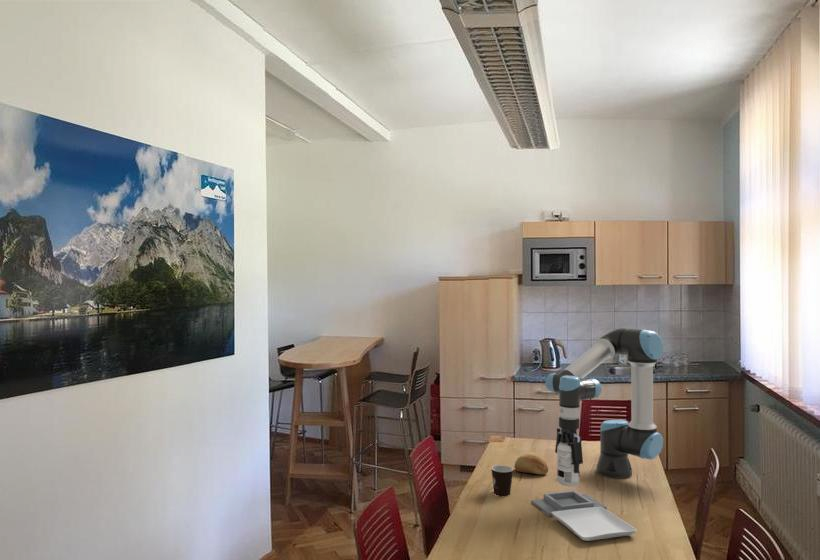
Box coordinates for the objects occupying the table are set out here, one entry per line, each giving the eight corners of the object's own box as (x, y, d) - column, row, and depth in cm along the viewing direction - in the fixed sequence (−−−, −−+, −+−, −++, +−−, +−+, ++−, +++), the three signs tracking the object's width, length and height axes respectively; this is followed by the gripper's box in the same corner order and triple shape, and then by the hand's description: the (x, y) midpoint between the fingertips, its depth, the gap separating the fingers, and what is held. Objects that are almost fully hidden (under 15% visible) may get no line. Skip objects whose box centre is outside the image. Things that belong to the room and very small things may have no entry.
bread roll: (545, 479, 257) (545, 460, 257) (511, 473, 263) (511, 455, 263) (550, 472, 265) (550, 454, 265) (517, 467, 272) (517, 449, 272)
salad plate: (638, 539, 200) (638, 529, 200) (583, 547, 194) (583, 536, 193) (601, 514, 220) (601, 505, 220) (549, 521, 214) (549, 511, 214)
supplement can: (553, 479, 230) (554, 440, 230) (574, 479, 231) (575, 440, 231) (561, 487, 222) (561, 446, 222) (582, 486, 223) (583, 446, 223)
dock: (585, 496, 237) (585, 488, 237) (606, 509, 223) (606, 501, 223) (531, 502, 230) (531, 494, 230) (549, 516, 217) (549, 508, 217)
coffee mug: (512, 498, 234) (512, 472, 234) (490, 496, 236) (490, 471, 236) (513, 487, 246) (513, 463, 246) (492, 486, 247) (492, 462, 247)
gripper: (546, 411, 235) (545, 469, 236) (575, 424, 215) (574, 487, 215) (563, 410, 238) (562, 467, 238) (593, 423, 217) (592, 485, 217)
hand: (568, 477), depth 226 cm, fingers closed on supplement can, 8 cm apart
